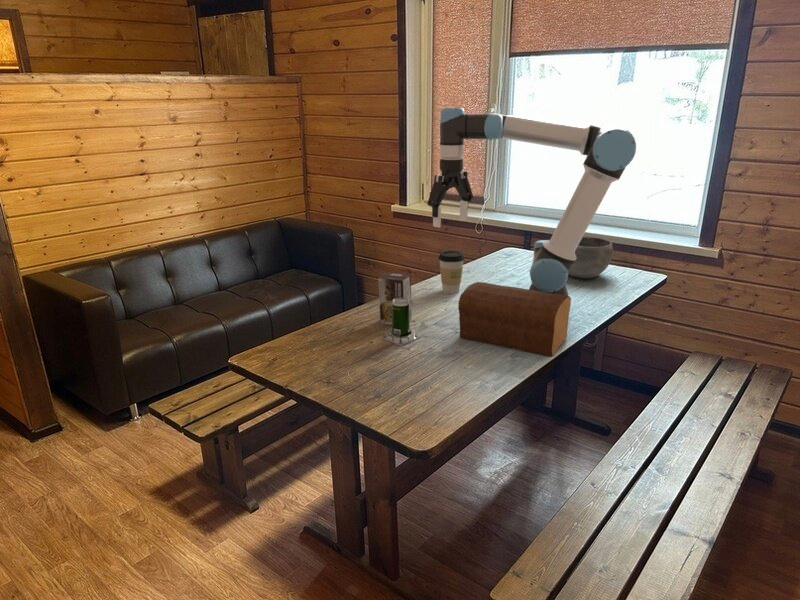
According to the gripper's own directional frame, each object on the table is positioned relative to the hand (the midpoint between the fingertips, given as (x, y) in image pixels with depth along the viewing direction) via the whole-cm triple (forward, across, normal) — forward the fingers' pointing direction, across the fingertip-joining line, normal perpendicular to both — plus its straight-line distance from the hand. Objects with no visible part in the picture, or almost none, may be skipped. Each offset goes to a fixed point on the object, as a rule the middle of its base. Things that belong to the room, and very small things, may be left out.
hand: (450, 223), depth 194 cm
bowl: (+31, -66, +15) cm, 74 cm away
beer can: (+30, +29, +5) cm, 42 cm away
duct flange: (+31, +29, +5) cm, 43 cm away
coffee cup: (+31, -15, -12) cm, 36 cm away
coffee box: (+31, +21, -5) cm, 38 cm away
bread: (+31, +5, +30) cm, 44 cm away
